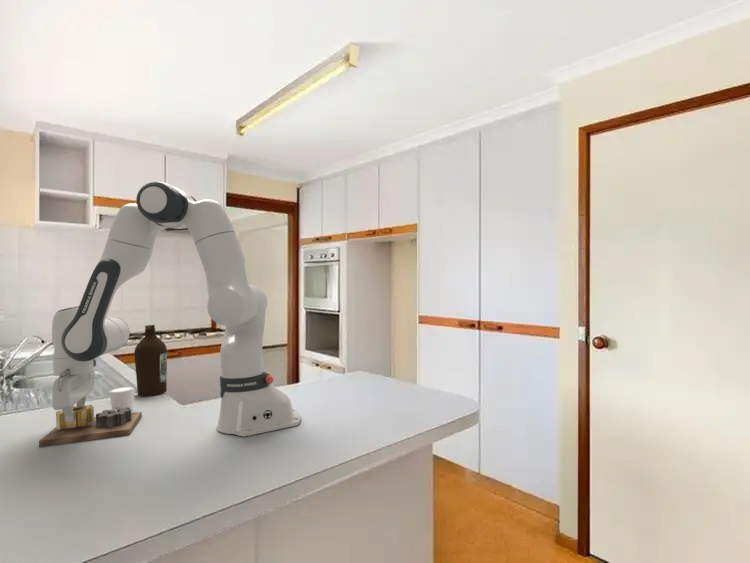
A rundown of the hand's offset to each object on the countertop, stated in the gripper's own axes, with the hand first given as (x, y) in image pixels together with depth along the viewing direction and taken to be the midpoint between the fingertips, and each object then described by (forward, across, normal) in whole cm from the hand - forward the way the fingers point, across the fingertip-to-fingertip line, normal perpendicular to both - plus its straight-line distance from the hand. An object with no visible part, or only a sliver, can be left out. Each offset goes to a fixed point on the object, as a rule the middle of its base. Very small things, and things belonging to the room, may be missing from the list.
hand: (75, 416), depth 114 cm
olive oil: (+5, +37, -13) cm, 40 cm away
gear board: (+4, 0, -4) cm, 6 cm away
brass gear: (+2, 0, 0) cm, 2 cm away
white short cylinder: (+5, +17, -8) cm, 19 cm away
